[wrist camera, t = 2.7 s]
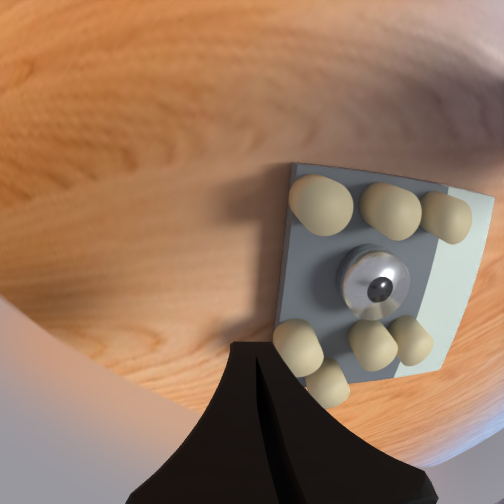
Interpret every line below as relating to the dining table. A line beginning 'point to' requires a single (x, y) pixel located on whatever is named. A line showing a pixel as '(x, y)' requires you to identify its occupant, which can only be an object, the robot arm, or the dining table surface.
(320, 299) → the board
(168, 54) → the dining table surface
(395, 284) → the steel nut
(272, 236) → the dining table surface
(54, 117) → the dining table surface
